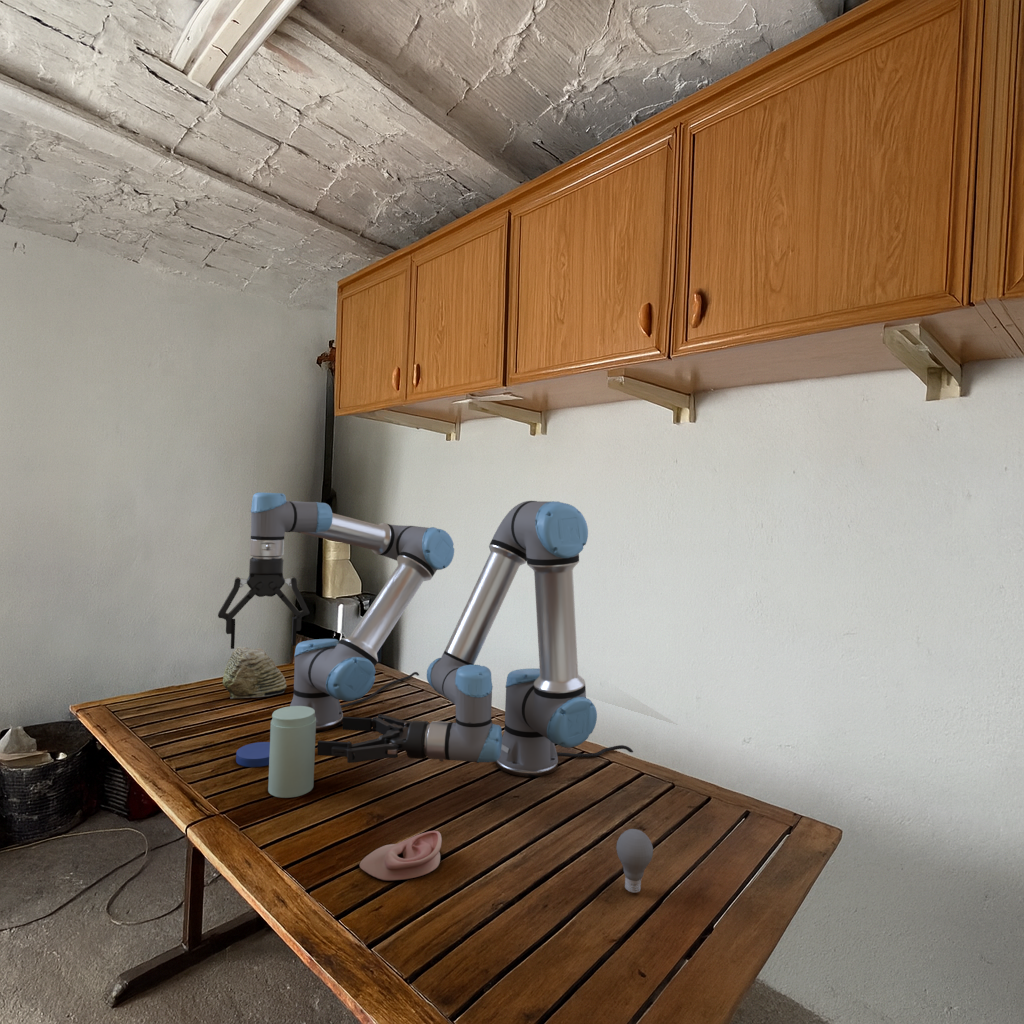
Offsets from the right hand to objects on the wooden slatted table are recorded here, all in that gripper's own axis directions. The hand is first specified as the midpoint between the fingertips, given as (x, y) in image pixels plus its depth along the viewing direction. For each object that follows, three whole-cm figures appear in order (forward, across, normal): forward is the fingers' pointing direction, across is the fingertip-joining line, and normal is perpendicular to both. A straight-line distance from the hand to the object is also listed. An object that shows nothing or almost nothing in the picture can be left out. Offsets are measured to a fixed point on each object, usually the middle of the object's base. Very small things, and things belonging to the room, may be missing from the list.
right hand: (331, 734), depth 136 cm
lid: (+23, +13, -10) cm, 28 cm away
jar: (+9, 0, -12) cm, 15 cm away
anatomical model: (-22, -23, -13) cm, 35 cm away
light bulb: (-62, -24, -14) cm, 68 cm away
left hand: (+22, +14, +15) cm, 30 cm away
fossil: (+48, +57, -12) cm, 76 cm away
